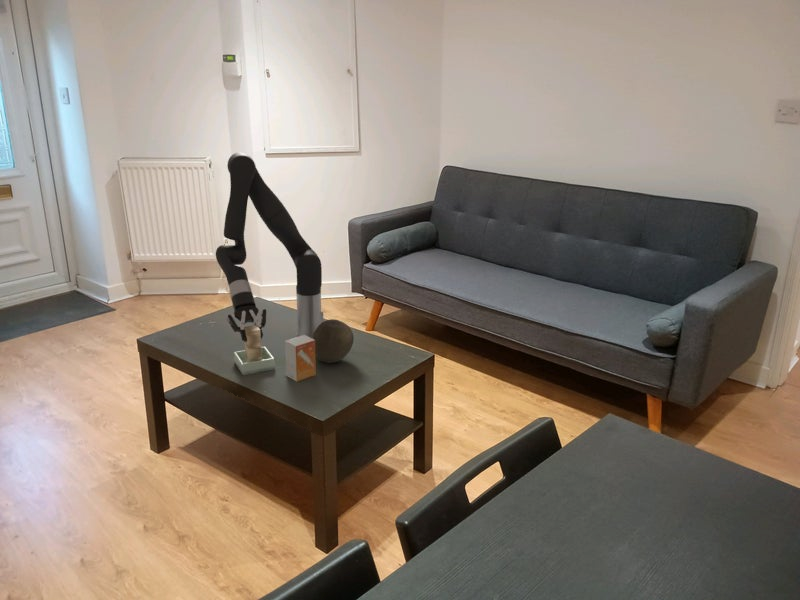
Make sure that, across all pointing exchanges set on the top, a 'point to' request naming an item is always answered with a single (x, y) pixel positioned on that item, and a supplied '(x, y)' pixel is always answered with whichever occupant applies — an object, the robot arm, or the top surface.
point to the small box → (300, 357)
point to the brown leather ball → (332, 340)
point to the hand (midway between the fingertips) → (253, 339)
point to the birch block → (253, 344)
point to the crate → (256, 366)
